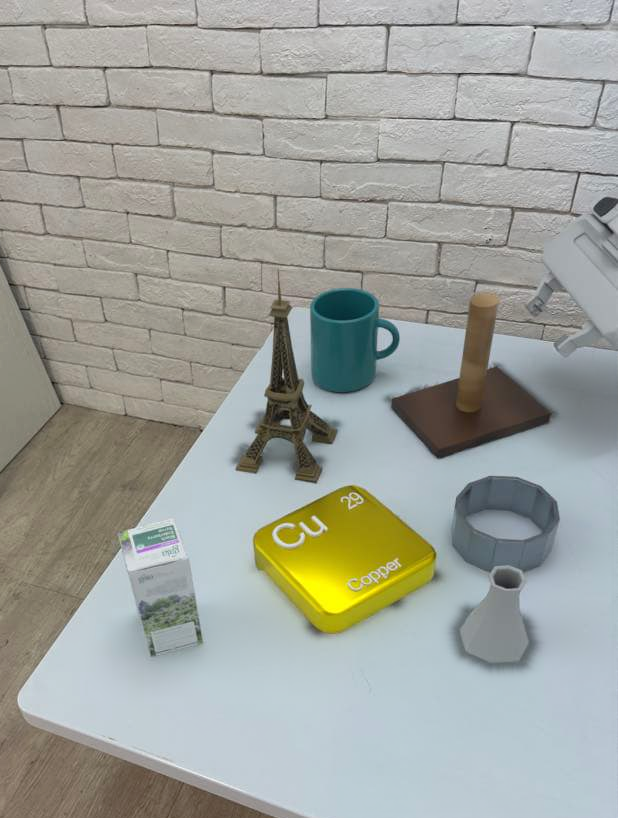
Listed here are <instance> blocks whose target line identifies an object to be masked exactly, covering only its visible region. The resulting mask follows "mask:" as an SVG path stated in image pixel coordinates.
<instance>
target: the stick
mask: <svg viewBox="0 0 618 818" xmlns="http://www.w3.org/2000/svg"><path fill="white" fill-rule="evenodd" d="M498 307H499V298H498V297H497V296H496V295H495V294H492V293H488V292H487V293H486V292H482V293H481V292H480V293H476V294H474V295H472V296H471V297H470V298H469V303H468V312H467V318H466V319H467V320H466V326H465V334H464V343H463V349H462V355H461V363H460V371H459V377H458V378H459V385H458V392H457V400H456V407H457V408H458V409H459V410H461V411H463V412H476V411H478V410H479V409H480V408H481V406H482V400H483V394H484V388H485V382H486V376H487V370H488V369H489V362H490V358H491V351H492V345H493V339H494V338H493V337H494V332H495V326H496V319H497V313H498Z"/></svg>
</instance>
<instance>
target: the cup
mask: <svg viewBox="0 0 618 818" xmlns="http://www.w3.org/2000/svg"><path fill="white" fill-rule="evenodd" d="M379 315H380V303H379V299H378V298H377V297H376V296H375V295H374V294H373V293H371V292H369V291H368V290H367V291H366V290H363V289H360V288H353V287H340V288H333V289H329V290H326V291H324V292H321V293H320V294H318V295H317V296H315V297H314V298H313V299H312V301H311V302H310V305H309V317H310V318H309V320H310V321H309V323H310V327H309V329H310V373H311V378H312V380H313V382H314V383H315V384H316V385H318V386H319V387H320V388H322V389H324V390H326V391H330V392H335V393H349V392H350V393H351V392H355V391H358V390H361V389H364V388H365V387H366V386H368V385H369V384H370V383H372V382H373V380H374V379H375V376H376V374H377V361H378V360H383V359H386V358H388V357H390V356H391V355H392V354H393V353H394V352H396V350H397V349H398V347H399V345H400V340H401V336H400V331H399V329H398V327H397V326H396V325H395V324H394V323H393V322H392V321H389V320H387V319H385V318H381V317H380V316H379ZM379 328H381V329H385V330H387V331H388V332H389V333H390V334H391V336H392V341H391V343H390V344H389V345H388V346H387V347H386V348H384V349H381V350H378V334H379Z"/></svg>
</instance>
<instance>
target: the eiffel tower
mask: <svg viewBox="0 0 618 818" xmlns="http://www.w3.org/2000/svg"><path fill="white" fill-rule="evenodd" d="M277 280H278V281H277V299H273V302H272V304H271V305H270V307H269V309H270V312H269V314H267V315H268V317H273V318H274V319H273V335H272V336H273V339H272V353H271V354H272V355H271V365H270V366H271V367H270V379H269V384H268V386H267V388H266V389H265V391H264V394H263V396H264V397H265V398H267V401H266V407H265V413H264V415H263V417H262V418H260V420H259V423H258V424H257V426H256V428H255V430H254V434H257V435H256V436H255V438H254V440H253V441H252V442H251V444H250V445H249V446H248V448H247V449H246V451H245V453H244V454H242V455H241V457H240V459H239V461H238V462H237V464H236V466H235V471H239V472H245V473H250V474H251V473H252V474H257V473H258V472H259V469H260V467H261V465H262V463H263V460H264V458H263V455H262V453H263V451H264V449H265V447H267V446H266V445H267V444H268V442H269V441H271V440H273V439H281V440H284V441H287V442H289V443H291V444H292V445H293V446H294V452H295V459H296V466H297V469H296V471H295V475H294V480H296V481H301V482H306V483H307V482H308V483H313V484H317V482H318V480H319V478H320V475H321V472H322V470H323V466H319V463H317V460H316V458H315V457H314V456H313V454H312V453H311V451H310V449H308V446H307V445H306V443H305V442H304V439H305V436H306V432H307V430H308V431H309V432H310V433H311V434H312V435H311V442H314V443H315V442H316V443H323V444H330V445H333V443H334V442H335V439H336V436H337V433H338V429H337V428H332V427H331V425H329V424H328V423H327V422H326V421H325V420H324V419H322V418H321V417H320V416H318V415H317V414H316V413H315V412H313V411H312V410H311V409H312V404H308V402H307V401H306V399H305V395H304V393H303V390H304V387H305V382H304V378H299V374H298V369H297V365H296V360H295V359H296V358H295V354H294V348H293V343H292V338H291V337H292V335H291V330H290V325H289V318H288V316H289V314H290V313H291V311H292V309H293V306H292V305H291V304H290V303H291V301H290V300H285V299H284V300H283V299H282V292H281V281H280V269H279V268H277ZM284 420H287V421H288V420H289V422H290V425H288V424H282V421H284Z"/></svg>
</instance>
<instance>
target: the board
mask: <svg viewBox="0 0 618 818" xmlns="http://www.w3.org/2000/svg"><path fill="white" fill-rule="evenodd" d="M458 385H459V377H458V378H455V379H451V380H448V381H445V382H441V383H438V384H435V385H432V386H428V387H425V388H421V389H419V390H416V391H412V392H409V393H405V394H403V395H399V396H396V397H393V398H391V404H390V405H391V406H390V408H391V409H392V410H393V411H394V412H395V413H396V415H397V416H398V417H399V418H400V419H401V420H402V421H403V422H404V424H406V426H407V427H408V428H409V429H410V430H411V431H412V432H413V433H414V434H415V436H417V437H418V439H419V440H421V442H422V443H423V444H424V445H425V446H426V447H427V448H428V449H429V450H430V452H431V453H432V454H433V455H434V456H435V457H436V459H441V458H444V457H447V456H450V455H453V454H456V453H458V452H460V453H461V452H462V451H466V450H469V449H471V448H475V447H477V446H481V445H484V444H487V443H489V442H493V441H496V440H499V439H502V438H505V437H509V436H511V435H515V434H517V433H520V432H525V431H527V430H529V429H533V428H536V427H539V426H542V425H546V424H548V423H550V420H551V417H552V416H551V415H552V412H551V411H550V410H549V409H547V408H546V407H545V406H544V405H543V404H542V403H541V402H540V401H538V400H537V399H536V398H535V397H534V396H532V394H530V393H529V392H528V391H526V390H525V389H524V387H521V385H519V384H518V383H517V382H516V381H515V380H514V379H513V378H512V377H510V376H509V375H508V374H507V373H505V372H504V370H502V369H501V368H500V367H498V366H497V365H496V366H494V367H493V366H492V367H488V370H487V376H486V382H485V388H484V394H483V400H482V406H481V408H480V409H479V410H478V411H476V412H463V411H461V410H459V409H458V408H457V407H456V400H457V392H458Z"/></svg>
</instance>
